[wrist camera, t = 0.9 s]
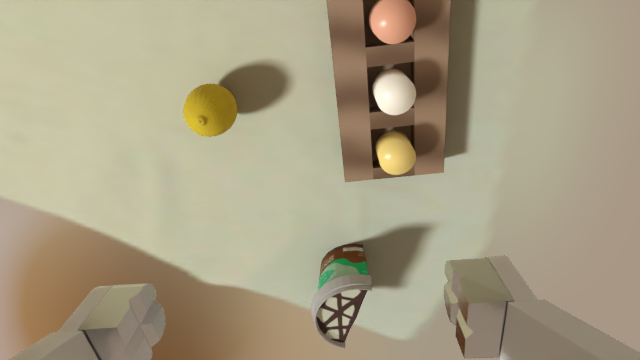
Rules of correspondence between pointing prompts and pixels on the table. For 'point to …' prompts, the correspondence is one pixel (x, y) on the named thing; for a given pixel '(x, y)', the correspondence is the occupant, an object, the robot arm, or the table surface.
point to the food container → (340, 292)
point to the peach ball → (392, 20)
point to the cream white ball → (394, 92)
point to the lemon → (210, 110)
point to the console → (367, 63)
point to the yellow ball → (395, 152)
